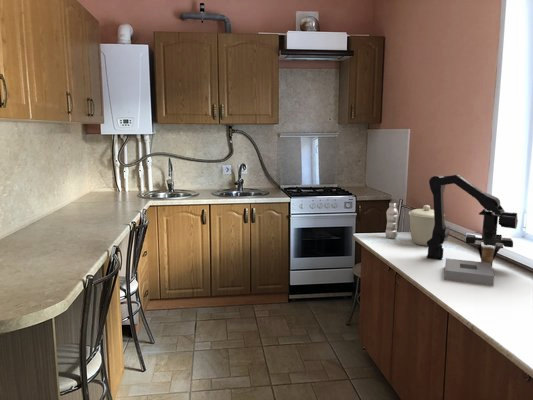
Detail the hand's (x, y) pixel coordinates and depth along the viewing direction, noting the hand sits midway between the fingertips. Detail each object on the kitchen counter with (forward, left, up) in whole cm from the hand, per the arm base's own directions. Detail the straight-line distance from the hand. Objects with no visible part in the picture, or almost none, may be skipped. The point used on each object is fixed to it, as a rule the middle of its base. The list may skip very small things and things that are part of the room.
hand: (486, 259), depth 198 cm
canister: (-28, +31, -4) cm, 42 cm away
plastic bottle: (-46, +36, -4) cm, 59 cm away
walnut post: (0, 0, -3) cm, 3 cm away
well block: (-8, -16, -4) cm, 18 cm away
